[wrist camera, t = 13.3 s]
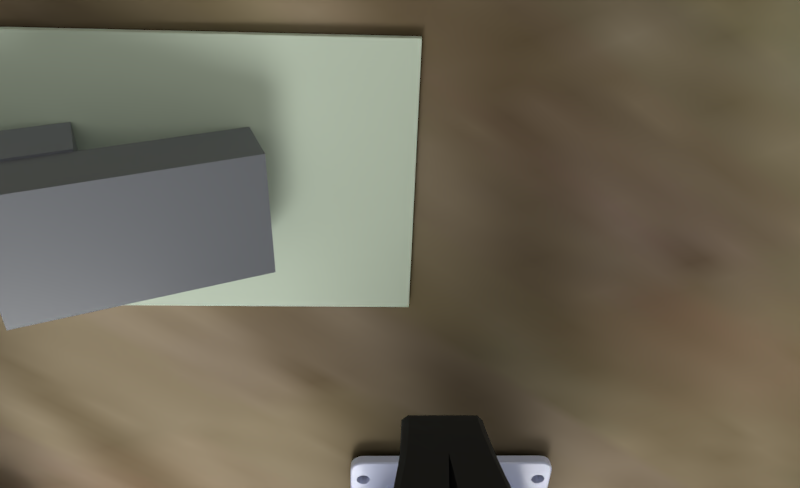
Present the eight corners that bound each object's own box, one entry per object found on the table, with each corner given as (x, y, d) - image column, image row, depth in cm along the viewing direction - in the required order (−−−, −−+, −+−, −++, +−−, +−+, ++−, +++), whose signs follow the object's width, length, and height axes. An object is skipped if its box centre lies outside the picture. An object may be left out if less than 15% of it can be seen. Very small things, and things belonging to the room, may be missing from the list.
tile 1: (265, 153, 18) (-43, 201, 15) (275, 272, 20) (6, 330, 17) (249, 126, 19) (-36, 166, 17) (260, 240, 21) (9, 289, 19)
